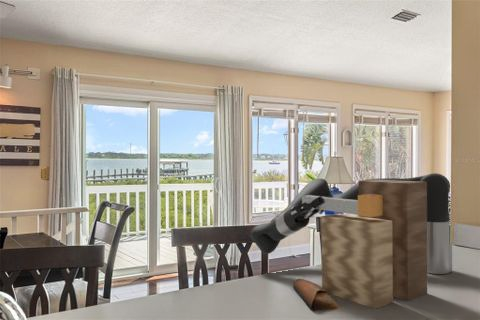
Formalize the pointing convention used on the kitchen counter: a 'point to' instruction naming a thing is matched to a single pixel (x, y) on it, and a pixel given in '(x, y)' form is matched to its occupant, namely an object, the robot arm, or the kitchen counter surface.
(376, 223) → the beige slab
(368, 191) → the walnut stand
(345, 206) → the steel pin
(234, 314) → the kitchen counter surface
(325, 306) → the sunglasses case
